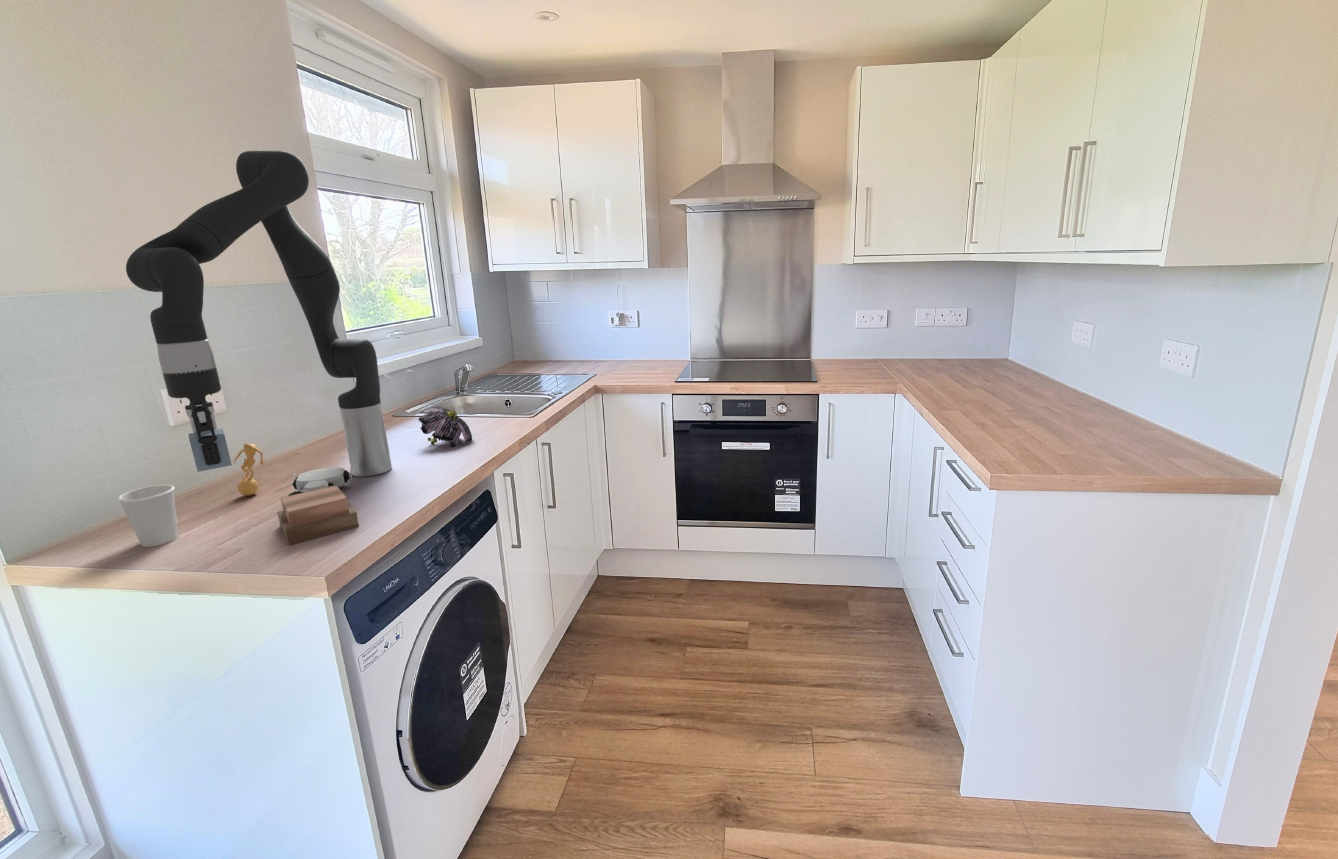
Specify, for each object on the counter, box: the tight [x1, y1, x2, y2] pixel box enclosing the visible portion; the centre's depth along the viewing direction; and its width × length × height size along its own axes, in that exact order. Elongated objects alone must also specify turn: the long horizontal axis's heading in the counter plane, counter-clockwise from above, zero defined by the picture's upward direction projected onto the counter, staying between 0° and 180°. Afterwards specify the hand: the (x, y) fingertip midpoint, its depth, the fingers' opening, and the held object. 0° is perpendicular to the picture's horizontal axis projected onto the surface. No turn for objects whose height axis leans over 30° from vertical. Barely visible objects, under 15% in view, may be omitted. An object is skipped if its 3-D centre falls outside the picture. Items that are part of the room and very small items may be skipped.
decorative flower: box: [417, 406, 473, 448], centre depth 176 cm, size 14×12×15 cm
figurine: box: [233, 442, 264, 497], centre depth 141 cm, size 8×6×12 cm
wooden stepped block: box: [276, 485, 360, 546], centre depth 121 cm, size 12×12×6 cm
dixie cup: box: [117, 484, 179, 548], centre depth 117 cm, size 8×8×10 cm
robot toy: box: [287, 466, 352, 496], centre depth 139 cm, size 12×4×15 cm
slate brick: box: [188, 428, 233, 473], centre depth 110 cm, size 5×5×6 cm
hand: (212, 460), depth 111 cm, fingers closed on slate brick, 5 cm apart
